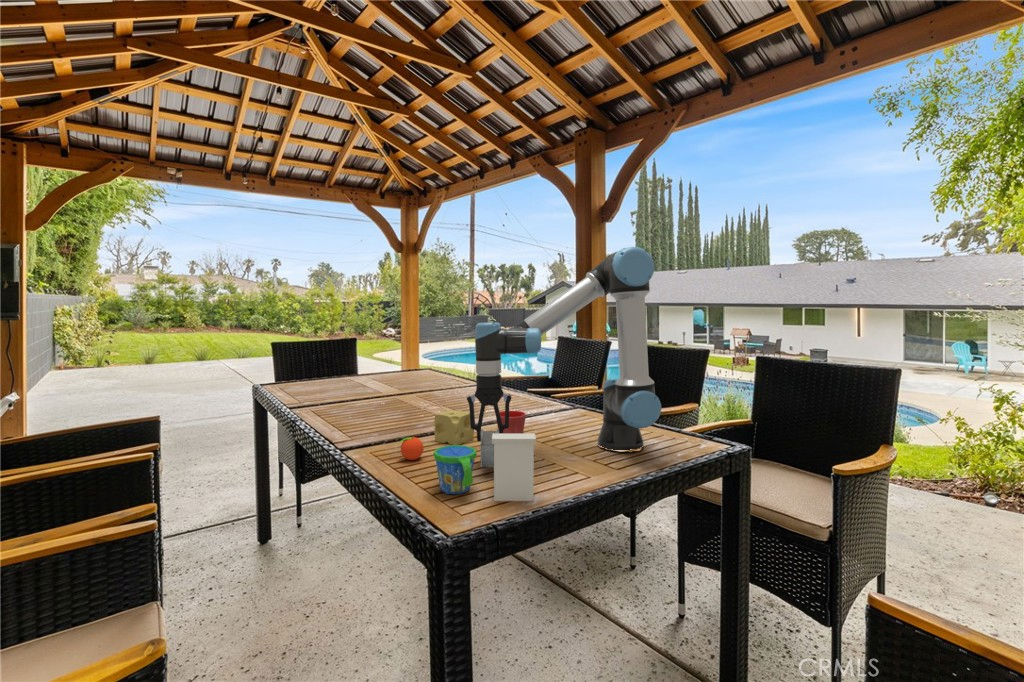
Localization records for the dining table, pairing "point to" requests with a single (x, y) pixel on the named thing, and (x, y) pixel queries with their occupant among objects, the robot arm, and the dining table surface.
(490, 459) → the rail
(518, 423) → the flower pot
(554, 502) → the dining table surface
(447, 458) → the snack cup
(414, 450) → the clementine
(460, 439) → the cheese
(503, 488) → the tall white pillar
